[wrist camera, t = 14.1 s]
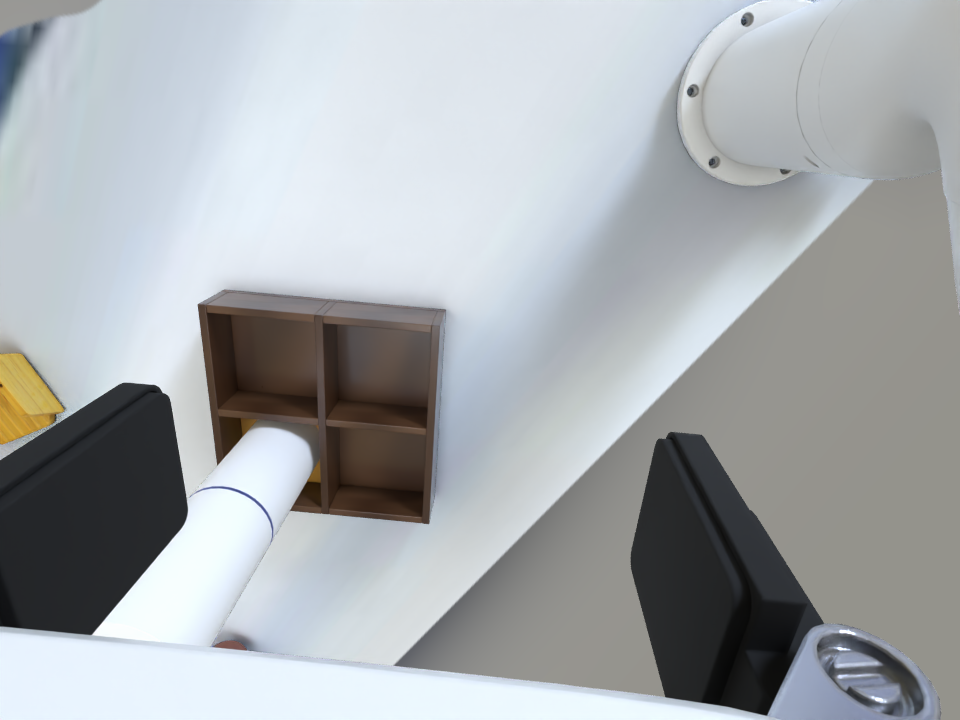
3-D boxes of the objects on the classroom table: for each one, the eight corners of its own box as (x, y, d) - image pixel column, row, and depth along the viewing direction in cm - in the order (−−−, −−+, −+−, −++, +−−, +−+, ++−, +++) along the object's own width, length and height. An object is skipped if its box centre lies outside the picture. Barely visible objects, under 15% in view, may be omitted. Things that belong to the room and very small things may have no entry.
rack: (445, 309, 49) (440, 326, 45) (435, 495, 57) (429, 524, 52) (223, 289, 49) (197, 304, 45) (242, 477, 57) (221, 504, 53)
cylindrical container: (333, 427, 53) (199, 649, 30) (310, 482, 56) (172, 726, 33) (262, 398, 52) (69, 604, 29) (243, 456, 55) (52, 687, 32)
